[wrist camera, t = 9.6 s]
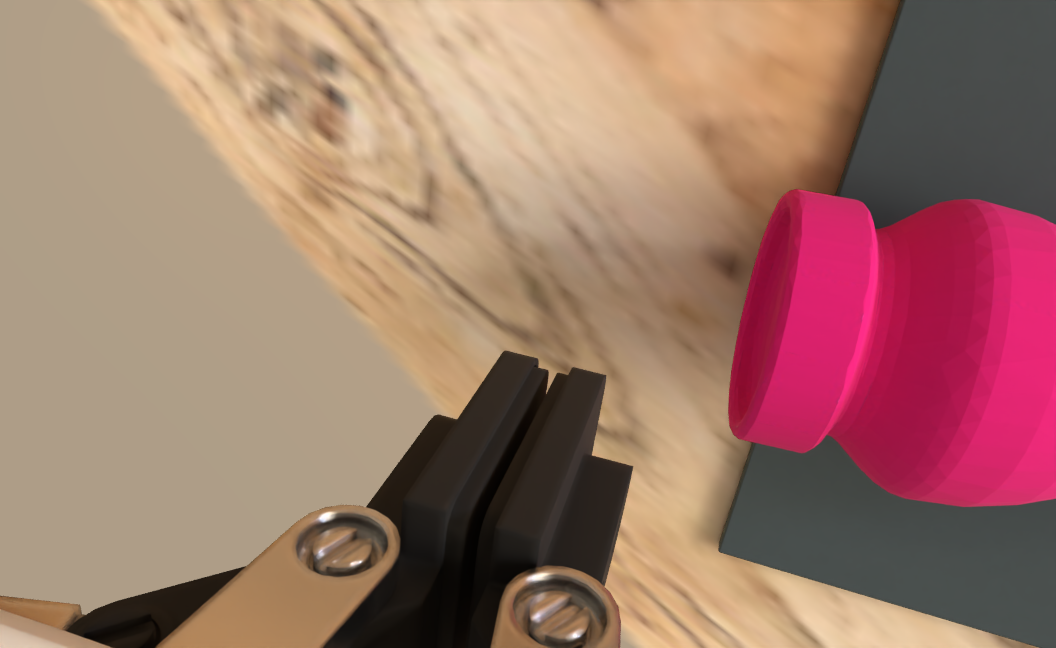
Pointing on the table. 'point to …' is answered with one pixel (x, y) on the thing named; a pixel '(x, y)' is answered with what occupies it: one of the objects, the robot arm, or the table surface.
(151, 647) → the robot arm
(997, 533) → the mat
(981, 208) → the pepper mill
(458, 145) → the table surface
